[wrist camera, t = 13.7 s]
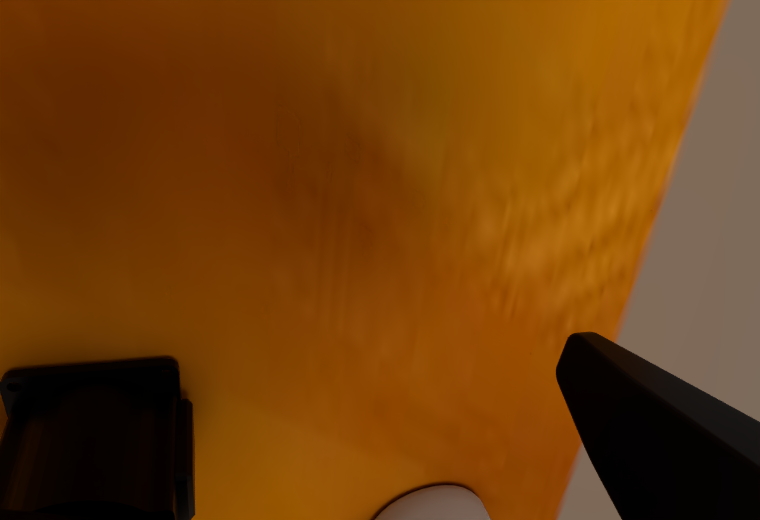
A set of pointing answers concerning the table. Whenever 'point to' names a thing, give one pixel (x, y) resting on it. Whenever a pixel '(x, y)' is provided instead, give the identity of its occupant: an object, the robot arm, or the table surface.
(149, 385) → the robot arm
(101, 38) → the table surface
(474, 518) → the milk bottle
